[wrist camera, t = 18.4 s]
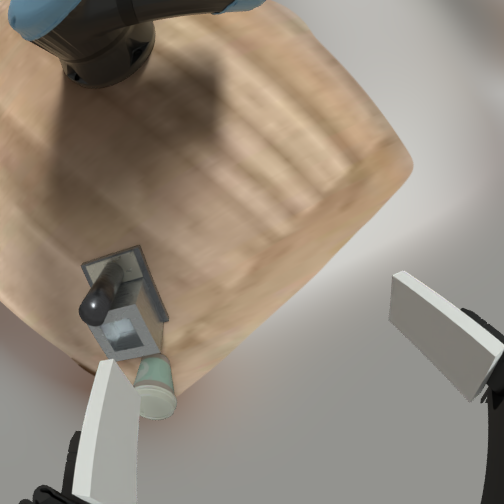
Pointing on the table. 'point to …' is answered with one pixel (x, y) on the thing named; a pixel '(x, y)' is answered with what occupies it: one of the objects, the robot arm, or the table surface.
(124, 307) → the square frame housing
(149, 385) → the coffee cup
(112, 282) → the black tapered cylinder
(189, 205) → the table surface
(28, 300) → the table surface
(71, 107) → the table surface
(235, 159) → the table surface
